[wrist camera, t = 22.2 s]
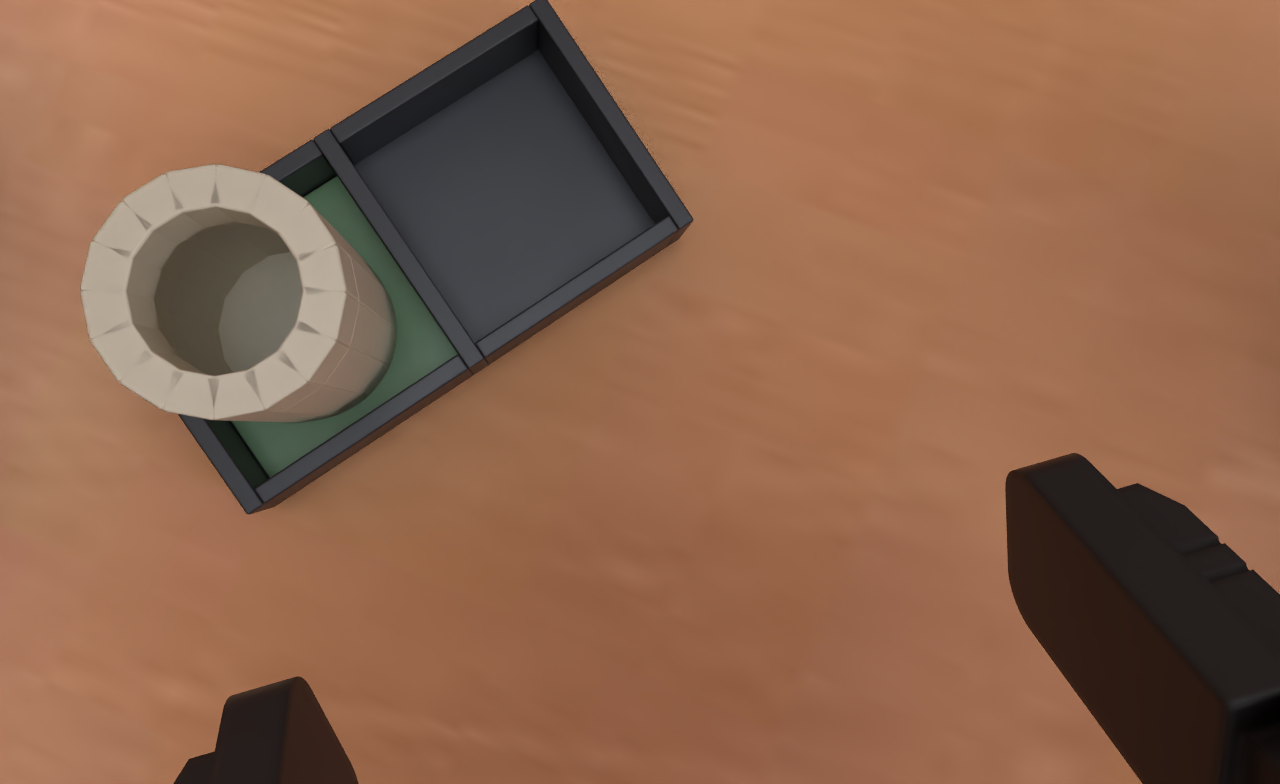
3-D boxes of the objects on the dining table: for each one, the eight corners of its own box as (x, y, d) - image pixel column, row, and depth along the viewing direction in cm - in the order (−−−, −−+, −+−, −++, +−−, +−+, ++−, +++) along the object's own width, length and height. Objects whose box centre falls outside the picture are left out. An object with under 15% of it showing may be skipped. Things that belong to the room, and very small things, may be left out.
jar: (331, 207, 36) (251, 117, 26) (432, 356, 36) (394, 326, 26) (174, 305, 36) (28, 253, 25) (278, 456, 36) (176, 468, 25)
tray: (542, 32, 38) (544, -6, 35) (679, 238, 38) (694, 219, 35) (126, 294, 36) (84, 280, 33) (273, 507, 36) (247, 515, 33)
